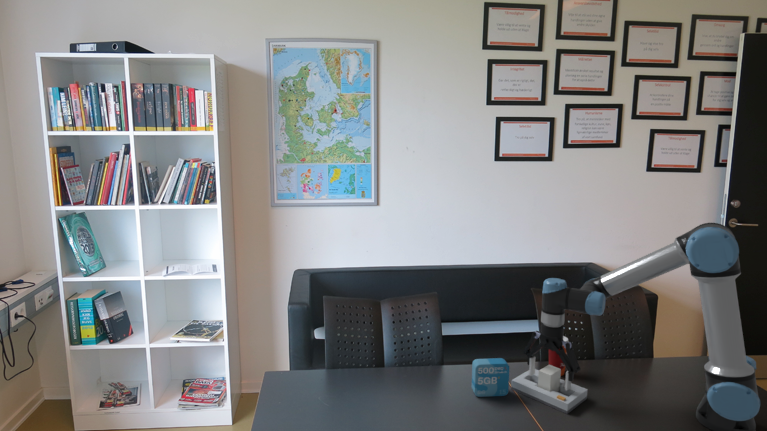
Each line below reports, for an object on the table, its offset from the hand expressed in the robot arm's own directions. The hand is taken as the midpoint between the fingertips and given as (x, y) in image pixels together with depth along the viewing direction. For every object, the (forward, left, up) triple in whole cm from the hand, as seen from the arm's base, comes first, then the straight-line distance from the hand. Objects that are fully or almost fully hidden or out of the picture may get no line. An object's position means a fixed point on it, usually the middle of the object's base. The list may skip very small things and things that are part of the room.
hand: (549, 381), depth 164 cm
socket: (0, 0, -5) cm, 5 cm away
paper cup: (+6, -17, -5) cm, 19 cm away
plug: (0, -2, -4) cm, 4 cm away
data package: (+14, +15, -5) cm, 21 cm away
